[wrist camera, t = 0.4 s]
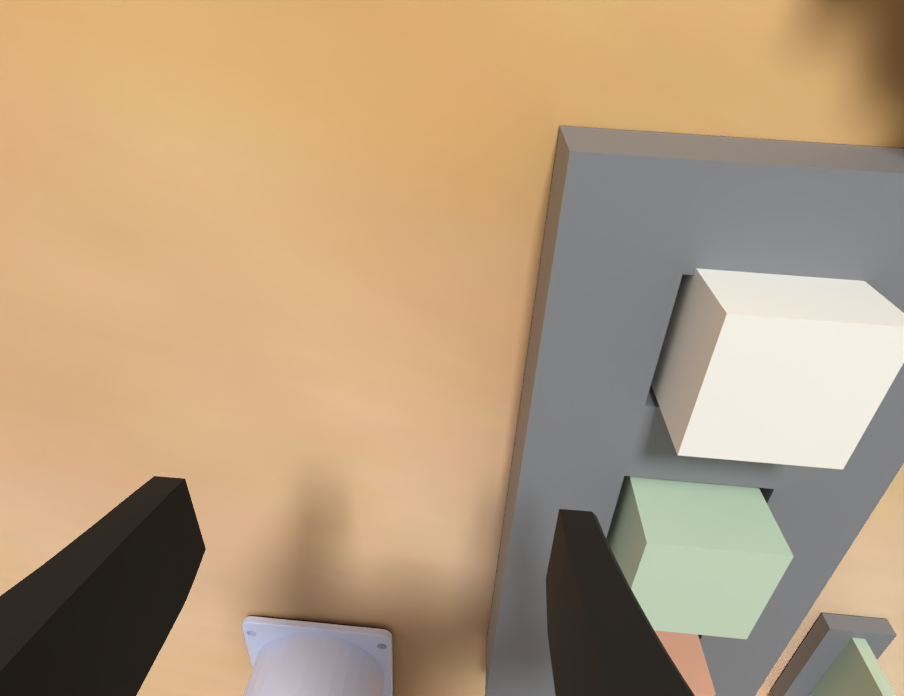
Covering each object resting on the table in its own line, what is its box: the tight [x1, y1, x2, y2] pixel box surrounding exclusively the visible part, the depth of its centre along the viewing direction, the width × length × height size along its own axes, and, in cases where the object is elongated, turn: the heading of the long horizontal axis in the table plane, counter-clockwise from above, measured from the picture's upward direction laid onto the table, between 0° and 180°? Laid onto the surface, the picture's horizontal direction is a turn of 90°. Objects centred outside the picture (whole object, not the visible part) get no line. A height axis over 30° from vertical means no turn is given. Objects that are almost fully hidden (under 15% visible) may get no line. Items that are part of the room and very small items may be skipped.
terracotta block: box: [654, 630, 716, 696], centre depth 25 cm, size 4×4×4 cm
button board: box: [485, 126, 904, 696], centre depth 22 cm, size 26×12×3 cm, turn 177°
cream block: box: [651, 268, 904, 470], centre depth 16 cm, size 4×4×4 cm
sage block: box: [606, 476, 794, 639], centre depth 20 cm, size 4×4×4 cm
